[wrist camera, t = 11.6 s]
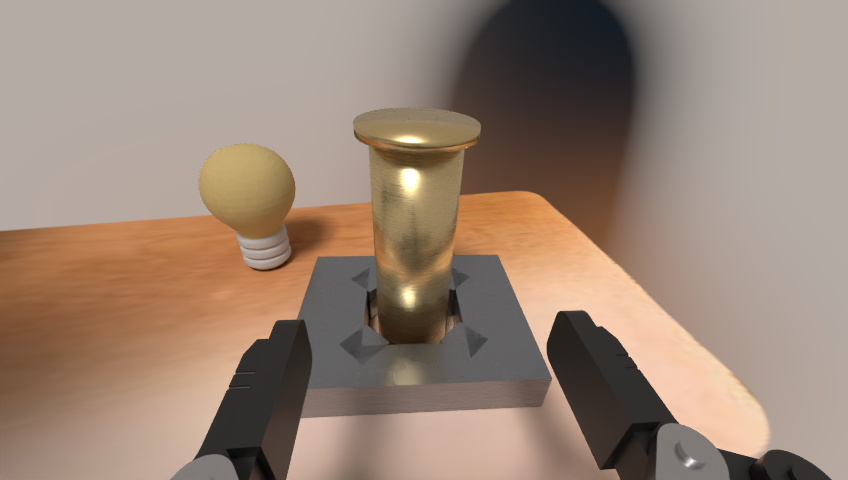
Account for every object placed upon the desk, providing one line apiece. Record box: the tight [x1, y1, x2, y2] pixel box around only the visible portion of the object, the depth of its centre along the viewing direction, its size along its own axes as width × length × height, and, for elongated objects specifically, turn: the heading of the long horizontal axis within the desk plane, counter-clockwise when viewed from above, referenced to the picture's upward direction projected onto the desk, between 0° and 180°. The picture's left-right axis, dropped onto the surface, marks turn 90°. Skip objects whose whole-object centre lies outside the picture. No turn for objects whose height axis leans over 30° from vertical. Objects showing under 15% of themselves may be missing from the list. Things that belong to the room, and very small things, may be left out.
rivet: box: [353, 108, 481, 345], centre depth 19 cm, size 6×6×14 cm
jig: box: [297, 255, 552, 418], centre depth 22 cm, size 14×11×2 cm
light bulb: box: [199, 144, 295, 269], centre depth 26 cm, size 6×6×10 cm
